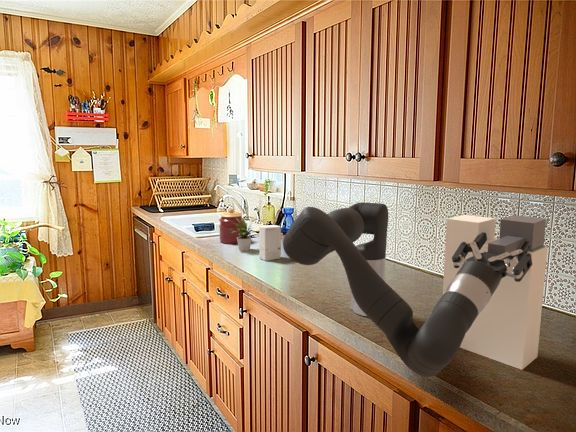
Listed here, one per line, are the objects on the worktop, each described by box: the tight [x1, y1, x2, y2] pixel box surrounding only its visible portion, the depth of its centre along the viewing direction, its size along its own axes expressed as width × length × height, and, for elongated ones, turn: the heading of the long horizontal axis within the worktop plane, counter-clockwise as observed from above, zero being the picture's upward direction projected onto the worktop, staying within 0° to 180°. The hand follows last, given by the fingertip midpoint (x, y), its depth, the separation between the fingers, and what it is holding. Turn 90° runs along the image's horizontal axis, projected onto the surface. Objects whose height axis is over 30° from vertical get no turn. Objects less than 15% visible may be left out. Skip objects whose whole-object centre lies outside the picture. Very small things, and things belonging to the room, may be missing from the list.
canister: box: [218, 208, 245, 245], centre depth 228 cm, size 13×13×18 cm
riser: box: [442, 214, 548, 371], centre depth 105 cm, size 20×9×32 cm, turn 41°
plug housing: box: [488, 214, 547, 255], centre depth 95 cm, size 7×16×6 cm, turn 131°
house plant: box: [232, 218, 255, 252], centre depth 210 cm, size 14×14×16 cm
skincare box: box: [258, 224, 282, 262], centre depth 194 cm, size 8×6×15 cm
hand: (504, 238), depth 93 cm, fingers open, 8 cm apart
